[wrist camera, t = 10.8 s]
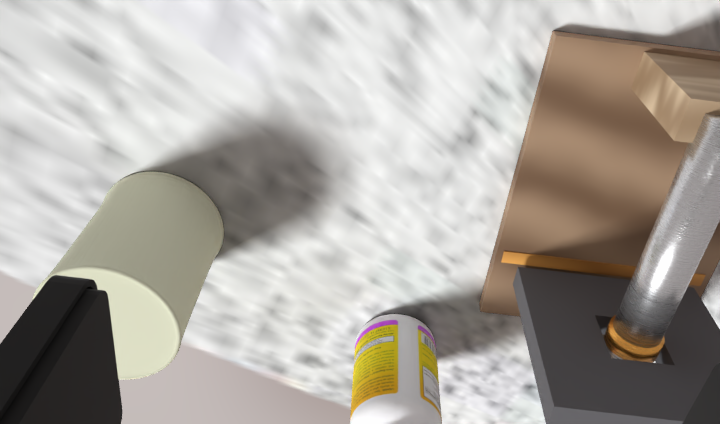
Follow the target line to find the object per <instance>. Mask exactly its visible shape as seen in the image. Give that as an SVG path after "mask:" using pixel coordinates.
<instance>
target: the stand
mask: <svg viewBox="0 0 720 424" xmlns="http://www.w3.org/2000/svg"><path fill="white" fill-rule="evenodd" d="M705 114H712V115H720V52H719V51H711V50H703V49H695V48H687V47H679V46H671V45H663V44H655V43H647V42H639V41H631V40H623V39H615V38H607V37H599V36H591V35H583V34H575V33H567V32H559V31H553V32H552V36H551V40H550V43H549V47H548V51H547V54H546V58H545V62H544V65H543V69H542V73H541V77H540V80H539V84H538V88H537V91H536V95H535V99H534V102H533V106H532V110H531V114H530V117H529V121H528V125H527V128H526V132H525V136H524V139H523V143H522V147H521V151H520V154H519V158H518V162H517V165H516V169H515V173H514V176H513V180H512V184H511V188H510V191H509V195H508V199H507V202H506V206H505V210H504V214H503V217H502V221H501V225H500V228H499V232H498V236H497V239H496V243H495V247H494V251H493V254H492V258H491V262H490V265H489V269H488V273H487V276H486V280H485V284H484V288H483V291H482V295H481V299H480V302H479V306H480V312H486V313H495V314H503V315H512V316H520V312H519V308H518V304H517V300H516V295H515V291H514V287H513V281H514V278H515V275H516V271H517V268H518V267H524V268H533V269H541V270H549V271H558V272H566V273H575V274H583V275H591V276H600V277H608V278H616V279H625V280H631V279H632V276H633V274H634V272H635V269H636V267H637V264H638V262H639V260H640V257H641V255H642V253H643V250H644V248H645V245H646V243H647V241H648V238H649V236H650V234H651V231H652V229H653V226H654V224H655V222H656V219H657V217H658V215H659V212H660V210H661V207H662V205H663V203H664V200H665V198H666V196H667V193H668V191H669V188H670V186H671V184H672V181H673V179H674V177H675V174H676V172H677V169H678V167H679V165H680V162H681V160H682V158H683V155H684V153H685V150H686V148H687V146H688V143H693V141H694V139H695V136H696V134H697V132H698V129H699V127H700V125H701V122H702V120H703V118H704V115H705ZM719 260H720V221H719V223H718V225H717V227H716V229H715V231H714V233H713V236H712V238H711V240H710V242H709V244H708V246H707V248H706V250H705V252H704V254H703V256H702V258H701V260H700V262H699V264H698V267H697V269H696V271H695V273H694V275H693V277H692V279H691V281H690V283H689V285H688V287H692V288H694V289H695V290H696V292H697V294H698V295H699V297H700V298H701V296H702V294H703V292H704V290H705V288H706V286H707V284H708V282H709V280H710V278H711V276H712V274H713V272H714V270H715V268H716V266H717V264H718V262H719ZM520 317H521V316H520ZM602 335H603V334H602ZM603 337H604V335H603Z"/></svg>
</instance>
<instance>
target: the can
mask: <svg viewBox="0 0 720 424" xmlns="http://www.w3.org/2000/svg"><path fill="white" fill-rule="evenodd" d="M223 238H224V228H223V222H222V218H221V216H220V213H219V211H218V209H217V207H216V206H215V204H214V203H213V201H212V200H211V199H210V198H209V197H208V196H207V194H206V193H205V192H203V191H202V190H201V189H200V188H199V187H197V186H196V185H194V184H193V183H191V182H189V181H187V180H185V179H183V178H181V177H178V176H176V175H172V174H169V173H163V172H141V173H136V174H132V175H130V176H127V177H125V178H123V179H121V180H120V181H118V182H117V183H116V184H115V185H114V186H113V187H112V188H111V189H110V190H109V192H108V193H107V195H106V197H105V199H104V201H103V203H102V205H101V206H100V208H99V209H98V211H97V212H96V213H95V215H94V216H93V218H92V219H91V220H90V222H89V223H88V224H87V226H86V227H85V228H84V230H83V231H82V232H81V234H80V235H79V236H78V238H77V239H76V240H75V242H74V243H73V245H72V246H71V247H70V249H69V250H68V251H67V252H66V254H65V255H64V256H63V258H62V259H61V260H60V262H59V263H58V264H57V265H56V267H55V268H54V269H53V271H52V272H51V273H50V274H49V275H48V277H47V278H46V279H45V280H44V281H43V282H42V283H41V284H40V285H39V287H38V288H37V290H36V291H35V294H34V296H33V299H34V298H35V297H36V295H37V294H38V293H39V291H40V290H41V288H42V287H43V286H44V284H45V283H46V282H47V281H48V279H49V278H50V277H52V276H54V275H60V276H68V277H77V278H85V279H92V280H94V281H95V283H96V285H97V289H98V290H104V291H106V292H107V294H108V299H109V307H110V315H111V323H112V331H113V339H114V347H115V355H116V363H117V372H118V379H119V380H120V379H121V380H124V379H125V380H127V379H138V378H143V377H147V376H150V375H152V374H155V373H157V372H159V371H161V370H162V369H164V368H165V367H167V366H168V365H169V364H170V363H171V362H172V360H173V359H174V358H175V356H176V355H177V353H178V351H179V348H180V345H181V340H182V337H183V335H184V332H185V329H186V327H187V324H188V321H189V319H190V316H191V314H192V311H193V309H194V306H195V304H196V301H197V299H198V296H199V294H200V291H201V289H202V286H203V284H204V281H205V279H206V277H207V274H208V272H209V269H210V267H211V265H212V262H213V260H214V258H215V257H216V256H217V254H218V253H219V251H220V249H221V246H222V243H223ZM33 299H32V301H33Z"/></svg>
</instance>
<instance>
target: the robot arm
mask: <svg viewBox="0 0 720 424" xmlns="http://www.w3.org/2000/svg"><path fill="white" fill-rule="evenodd" d="M121 419H122V405H121V396H120V388H119V380H118V372H117V363H116V355H115V347H114V339H113V331H112V323H111V315H110V307H109V299H108V294H107V292H106V291H104V290H98V289H97V285H96V283H95V281H94V280H92V279H85V278H77V277H68V276H60V275H54V276H52V277H50V278H49V279H48V281H47V282H46V283H45V284H44V286H43V287H42V288H41V290H40V291H39V293H38V294H37V295H36V297H35V298H34V299H33V301H32V302H31V304H30V305H29V306H28V307H27V309H26V310H25V311H24V313H23V314H22V316H21V317H20V318H19V320H18V321H17V322H16V324H15V325H14V327H13V328H12V329H11V330H10V332H9V333H8V334H7V336H6V337H5V339H4V340H3V341H2V343H1V344H0V424H121ZM682 424H720V363H719V364H717V365H716V366H715V367H714V368H713V370H712V372H711V373H710V375H709V377H708V379H707V380H706V382H705V384H704V386H703V388H702V389H701V391H700V393H699V395H698V397H697V398H696V400H695V402H694V404H693V406H692V407H691V409H690V411H689V413H688V415H687V416H686V418H685V420H684V422H683V423H682Z"/></svg>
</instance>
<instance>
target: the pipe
mask: <svg viewBox="0 0 720 424" xmlns="http://www.w3.org/2000/svg"><path fill="white" fill-rule="evenodd" d="M719 221H720V115H712V114H705V115H704V118H703V120H702V122H701V125H700V127H699V129H698V132H697V134H696V136H695V139H694V141H693V143H688V146H687V148H686V150H685V153H684V155H683V158H682V160H681V162H680V165H679V167H678V169H677V172H676V174H675V177H674V179H673V181H672V184H671V186H670V188H669V191H668V193H667V196H666V198H665V200H664V203H663V205H662V207H661V210H660V212H659V215H658V217H657V219H656V222H655V224H654V226H653V229H652V231H651V234H650V236H649V238H648V241H647V243H646V245H645V248H644V250H643V253H642V255H641V257H640V260H639V262H638V264H637V267H636V269H635V272H634V274H633V276H632V279H631V281H630V283H629V286H628V288H627V290H626V293H625V295H624V298H623V300H622V302H621V305H620V307H619V309H618V312H617V314H616V315H615V316H613V317H612V318H611V320H610V322H609V325H608V327H607V329H606V332H605V334H604V340H605V343H606V345H607V348H608V350H609V353H610V356H611V358H616V359H625V360H633V361H642V362H650V363H652V362H654V361H655V360H656V359H657V357H658V355H659V353H660V351H661V349H662V347H663V345H664V342H665V338H664V335H665V333H666V331H667V329H668V326H669V324H670V322H671V320H672V318H673V316H674V314H675V312H676V310H677V308H678V306H679V304H680V302H681V300H682V298H683V295H684V293H685V291H686V289H687V287H688V285H689V283H690V281H691V279H692V277H693V275H694V273H695V271H696V269H697V267H698V264H699V262H700V260H701V258H702V256H703V254H704V252H705V250H706V248H707V246H708V244H709V242H710V240H711V238H712V236H713V233H714V231H715V229H716V227H717V225H718V223H719Z"/></svg>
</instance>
